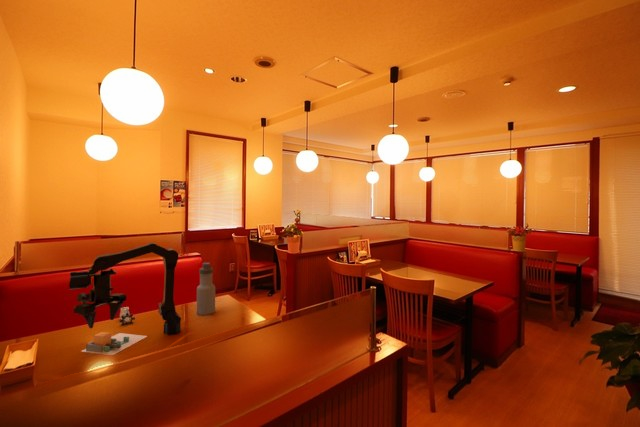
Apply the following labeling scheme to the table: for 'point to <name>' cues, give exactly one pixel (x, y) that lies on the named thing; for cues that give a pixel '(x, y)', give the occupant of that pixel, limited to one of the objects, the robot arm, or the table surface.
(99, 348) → the end holder
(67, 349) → the table surface
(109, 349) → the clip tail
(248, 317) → the table surface
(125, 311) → the valve
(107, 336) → the block
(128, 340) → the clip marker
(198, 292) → the water bottle
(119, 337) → the board
